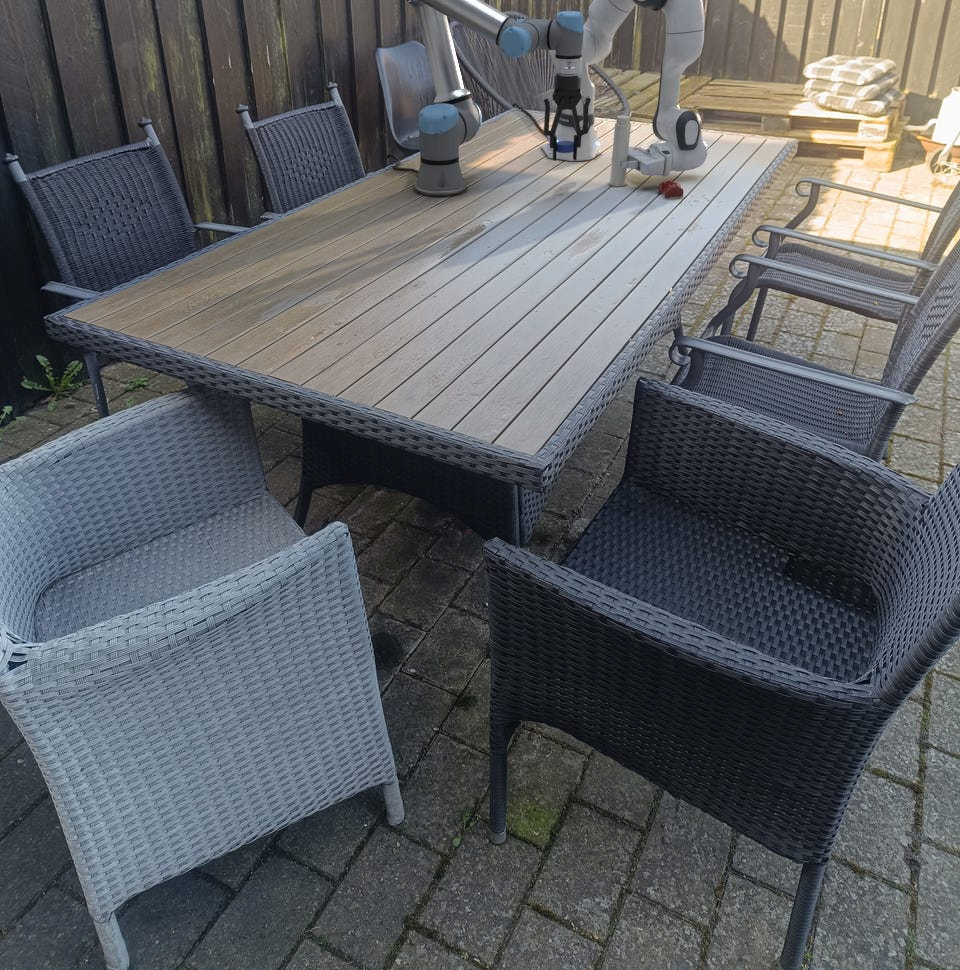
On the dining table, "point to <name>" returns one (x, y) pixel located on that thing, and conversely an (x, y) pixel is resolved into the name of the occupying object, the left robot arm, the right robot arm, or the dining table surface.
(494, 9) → the left robot arm
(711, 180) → the dining table surface
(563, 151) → the lid
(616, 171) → the white cylinder
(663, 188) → the dental model
